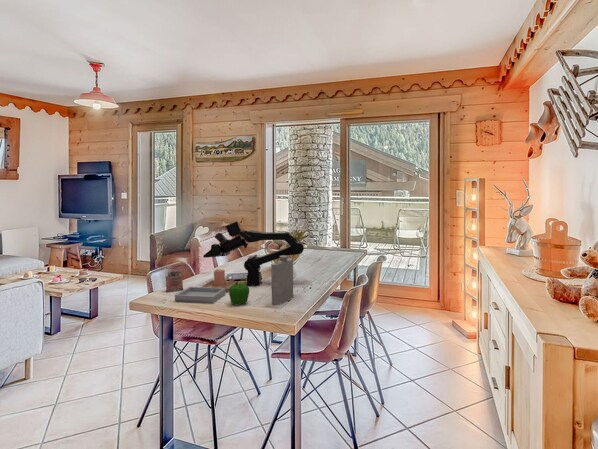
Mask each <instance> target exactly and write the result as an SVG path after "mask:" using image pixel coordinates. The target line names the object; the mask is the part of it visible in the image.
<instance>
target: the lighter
mask: <svg viewBox="0 0 598 449" xmlns="http://www.w3.org/2000/svg"><path fill="white" fill-rule="evenodd" d="M181 273H182V270H180V269H179V270H178V269H177V270H172V271H168V272H167V275H166V276H165V287H166V288H165V289H166V290H165V292H166V293H175V292H177V293H178V292H181V291H183V290H184V286H183V285H184V284H183V282H184V281H183V277H184V275H183V274H181Z"/></svg>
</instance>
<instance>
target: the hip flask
mask: <svg viewBox="0 0 598 449" xmlns="http://www.w3.org/2000/svg"><path fill="white" fill-rule="evenodd" d="M270 267H271V268H270V273H271V305H272V306H278V305H281V304H284V303H286V302H288V301H289V300H291V299H292V298H294V258H292V257H289V255H287V256H285V255H283V256H280V258H279V260H278V261H276V262H273V263H271V265H270Z"/></svg>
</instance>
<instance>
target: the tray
mask: <svg viewBox="0 0 598 449" xmlns="http://www.w3.org/2000/svg"><path fill="white" fill-rule="evenodd" d="M225 295H226V293H225V288H209V287H202V286H188V287H187V288H185V289H183V290H182V291H178V292H177V293H176V294H175V295H174V302H175V303H192V304H211V305H212V304H216V303H217V301H219V300H220V299H221V298H223V297H224V296H225Z"/></svg>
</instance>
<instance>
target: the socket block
mask: <svg viewBox="0 0 598 449" xmlns="http://www.w3.org/2000/svg"><path fill="white" fill-rule="evenodd" d="M238 283H239V281H238V280H237V281H236V280H225V285H223V286H214V279H212V280H210V281H209V282H206V283H205V284H204V285H202V286H201V287H209V288H225V294H226V293H228V294H229V288H230V287H232V285H234V284H236V285H238Z"/></svg>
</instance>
